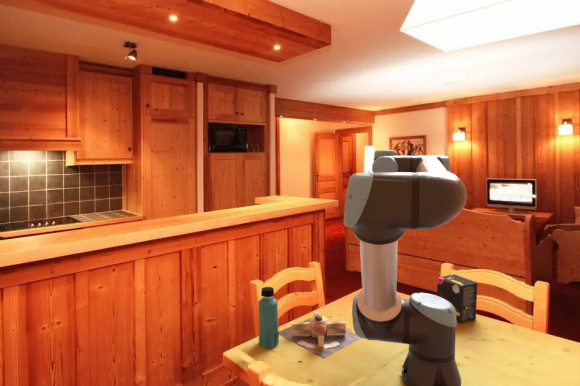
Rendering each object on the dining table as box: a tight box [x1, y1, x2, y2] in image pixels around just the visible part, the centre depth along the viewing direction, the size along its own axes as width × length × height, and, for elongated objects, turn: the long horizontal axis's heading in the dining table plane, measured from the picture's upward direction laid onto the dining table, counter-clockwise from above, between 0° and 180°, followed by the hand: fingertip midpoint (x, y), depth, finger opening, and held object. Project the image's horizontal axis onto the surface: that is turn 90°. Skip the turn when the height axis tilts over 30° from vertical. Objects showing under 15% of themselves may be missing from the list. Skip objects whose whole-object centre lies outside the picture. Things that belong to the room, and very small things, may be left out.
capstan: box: [291, 310, 347, 347], centre depth 123 cm, size 18×19×7 cm
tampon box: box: [436, 274, 478, 325], centre depth 140 cm, size 11×9×15 cm
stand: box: [278, 318, 361, 359], centre depth 124 cm, size 22×19×2 cm
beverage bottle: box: [257, 286, 280, 350], centre depth 117 cm, size 6×7×20 cm
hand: (383, 264), depth 126 cm, fingers closed
